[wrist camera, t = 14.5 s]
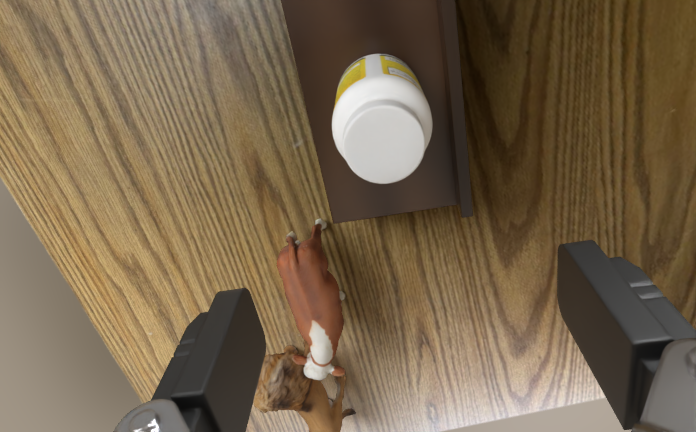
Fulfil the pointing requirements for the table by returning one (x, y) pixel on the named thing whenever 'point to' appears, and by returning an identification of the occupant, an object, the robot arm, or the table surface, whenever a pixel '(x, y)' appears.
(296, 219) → the table surface
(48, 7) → the table surface
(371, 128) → the supplement bottle
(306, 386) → the lion figurine
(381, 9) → the shelf
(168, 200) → the table surface
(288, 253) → the bull figurine
